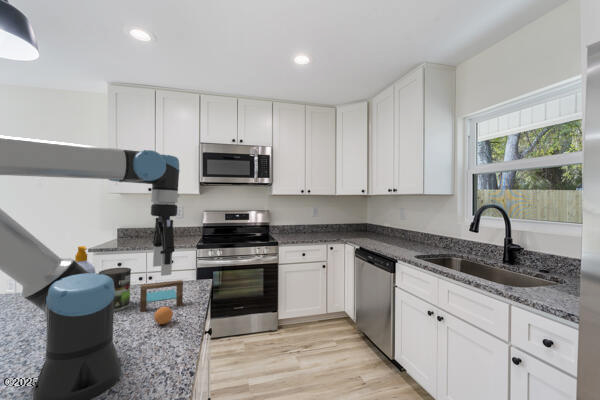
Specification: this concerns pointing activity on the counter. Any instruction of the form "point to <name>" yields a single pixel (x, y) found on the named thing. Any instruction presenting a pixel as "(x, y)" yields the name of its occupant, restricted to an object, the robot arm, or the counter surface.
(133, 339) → the counter surface
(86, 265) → the soap bottle
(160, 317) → the ball
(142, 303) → the bridge
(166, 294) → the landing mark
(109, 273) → the coffee can
